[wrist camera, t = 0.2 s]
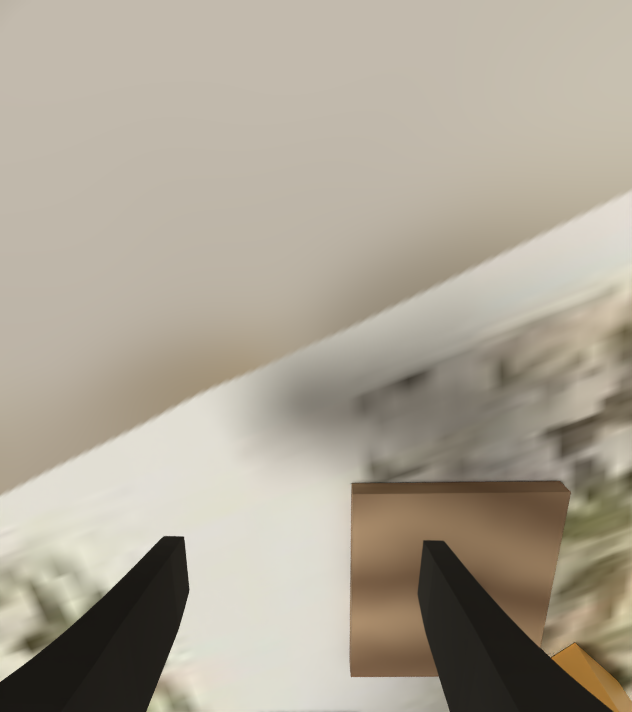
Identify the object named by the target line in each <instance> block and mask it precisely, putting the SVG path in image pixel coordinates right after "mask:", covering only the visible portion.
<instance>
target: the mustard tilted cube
mask: <svg viewBox="0 0 632 712" xmlns="http://www.w3.org/2000/svg"><path fill="white" fill-rule="evenodd" d="M551 659H553V660H554V661H555V662H556V663H557V664H558V665H559V666H560V667H561V668H562V669H563V670H565V671H566V672H567V673H568V674H569V675H570V676H571V677H573V678H574V679H575V680H576V681H577V682H578V683H580V684H581V685H582V686H583V687H584V688H585V689H587V690H588V691H589V692H590V693H592V694H593V695H594V696H595V697H596V698H598V699H599V700H600V701H601V702H603V703H604V704H605V705H606V706H607V707H609V708H610V709H611V710H612V711H614V712H632V701H631V700H630V698H629V697H628V695H627V694H626V693H625V691H624V690H623V688H622V687H621V685H620V684H619V682H618V681H617V680H616V679H615V678H614V677H613V676H612V675H610V674H609V673H608V672H607V671H606V670H605V669H604V668H603V667H602V666H600V665H599V664H598V663H597V662H596V661H595V660H594V659H593V658H591V657H590V656H589V655H588V654H587V653H586V652H585V651H584V650H582V649H581V648H580V647H579V646H578V645H577V644H576V643H574V644H572V645H571V646H569V647H567V648H566V649H564V650H563V651H561V652H560V653H558V654H556V655H555V656H553V657H552V658H551Z"/></svg>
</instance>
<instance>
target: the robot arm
mask: <svg viewBox="0 0 632 712" xmlns="http://www.w3.org/2000/svg"><path fill="white" fill-rule="evenodd" d="M188 594H189V581H188V571H187V561H186V551H185V541H184V537H180V536H164V537H163V538H161V539H160V540H159V541H158V542H157V543H156V544H155V545H154V546H153V547H152V549H151V550H150V551H149V552H148V553H147V554H146V555H145V556H144V557H143V558H142V559H141V560H140V561H139V562H138V563H137V564H136V565H135V566H134V567H133V568H132V569H131V570H130V571H129V572H128V573H127V574H126V575H125V576H124V577H123V578H122V579H121V580H120V581H119V582H118V583H117V584H116V585H115V586H114V587H113V588H112V589H111V590H110V591H109V592H108V593H107V594H106V595H105V596H104V597H103V598H102V599H100V600H99V601H98V602H97V603H96V604H95V605H94V606H93V607H92V608H91V609H90V610H88V611H87V612H86V613H85V614H84V615H83V616H82V617H81V618H80V619H79V620H77V621H76V622H75V623H74V624H73V625H72V626H71V627H70V628H68V629H67V630H66V631H65V632H64V633H63V634H61V635H60V636H59V637H58V638H57V639H56V640H54V641H53V642H52V643H51V644H50V645H48V646H47V647H46V648H45V649H43V650H42V651H41V652H40V653H38V654H37V655H36V656H35V657H33V658H32V659H31V660H29V661H28V662H27V663H26V664H24V665H23V666H22V667H20V668H19V669H17V670H16V671H15V672H13V673H12V674H11V675H9V676H8V677H6V678H5V679H4V680H2V681H1V682H0V712H146V711H147V708H148V706H149V703H150V701H151V698H152V696H153V693H154V691H155V688H156V685H157V683H158V680H159V678H160V675H161V673H162V670H163V668H164V665H165V663H166V660H167V658H168V655H169V653H170V650H171V648H172V645H173V642H174V640H175V637H176V635H177V632H178V629H179V626H180V623H181V619H182V616H183V612H184V609H185V605H186V601H187V598H188ZM417 595H418V600H419V605H420V610H421V615H422V620H423V624H424V629H425V633H426V637H427V640H428V643H429V646H430V650H431V653H432V656H433V659H434V662H435V666H436V669H437V672H438V675H439V678H440V681H441V685H442V688H443V691H444V694H445V697H446V700H447V704H448V707H449V710H450V712H614V711H612V710H611V709H610V708H609V707H607V706H606V705H605V704H604V703H603V702H601V701H600V700H599V699H598V698H596V697H595V696H594V695H593V694H592V693H590V692H589V691H588V690H587V689H585V688H584V687H583V686H582V685H581V684H580V683H578V682H577V681H576V680H575V679H574V678H573V677H571V676H570V675H569V674H568V673H567V672H566V671H565V670H563V669H562V668H561V667H560V666H559V665H558V664H557V663H556V662H555V661H554V660H553V659H551V658H550V657H549V656H548V655H547V654H546V653H545V652H544V651H543V650H542V649H541V648H540V647H539V646H538V645H536V644H535V643H534V642H533V641H532V640H531V639H530V638H529V637H528V636H527V635H526V634H525V633H524V631H523V630H522V629H521V628H520V627H519V626H518V625H517V624H516V623H515V622H514V621H513V620H512V619H511V618H510V617H509V616H508V615H507V614H506V613H505V612H504V611H503V609H502V608H501V607H500V606H499V605H498V604H497V603H496V602H495V601H494V599H493V598H492V597H491V596H490V595H489V594H488V593H487V592H486V590H485V589H484V588H483V587H482V586H481V585H480V584H479V582H478V581H477V580H476V579H475V578H474V576H473V575H472V574H471V573H470V572H469V570H468V569H467V568H466V567H465V566H464V564H463V563H462V562H461V561H460V560H459V558H458V557H457V556H456V555H455V553H454V552H453V551H452V550H451V548H450V547H449V546H448V545H447V544H446V543H445V541H440V540H423V548H422V557H421V566H420V575H419V584H418V593H417Z"/></svg>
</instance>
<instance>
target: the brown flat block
mask: <svg viewBox="0 0 632 712" xmlns="http://www.w3.org/2000/svg"><path fill="white" fill-rule="evenodd" d="M570 494H571V492H570V491H569V490H568V489H567V488H566V487H565V486H564V485H563V484H562V483H561V482H560V481H536V482H442V483H352V489H351V580H350V673H351V677H434V676H439V675H438V672H437V669H436V666H435V662H434V659H433V656H432V653H431V650H430V646H429V643H428V640H427V637H426V633H425V629H424V624H423V620H422V615H421V610H420V605H419V600H418V595H417V593H418V584H419V575H420V566H421V557H422V548H423V540H440V541H445V543H446V544H447V545H448V546H449V547H450V548H451V550H452V551H453V552H454V553H455V555H456V556H457V557H458V558H459V560H460V561H461V562H462V563H463V564H464V566H465V567H466V568H467V569H468V570H469V572H470V573H471V574H472V575H473V576H474V578H475V579H476V580H477V581H478V582H479V584H480V585H481V586H482V587H483V588H484V589H485V590H486V592H487V593H488V594H489V595H490V596H491V597H492V598H493V599H494V601H495V602H496V603H497V604H498V605H499V606H500V607H501V608H502V609H503V611H504V612H505V613H506V614H507V615H508V616H509V617H510V618H511V619H512V620H513V621H514V622H515V623H516V624H517V625H518V626H519V627H520V628H521V629H522V630H523V631H524V633H525V634H526V635H527V636H528V637H529V638H530V639H531V640H532V641H533V642H534V643H535V644H536V645H538V646H539V647H540V645H541V640H542V635H543V630H544V625H545V620H546V615H547V610H548V605H549V600H550V595H551V590H552V585H553V580H554V575H555V570H556V565H557V560H558V555H559V550H560V545H561V540H562V535H563V530H564V524H565V519H566V514H567V509H568V504H569V499H570Z"/></svg>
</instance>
